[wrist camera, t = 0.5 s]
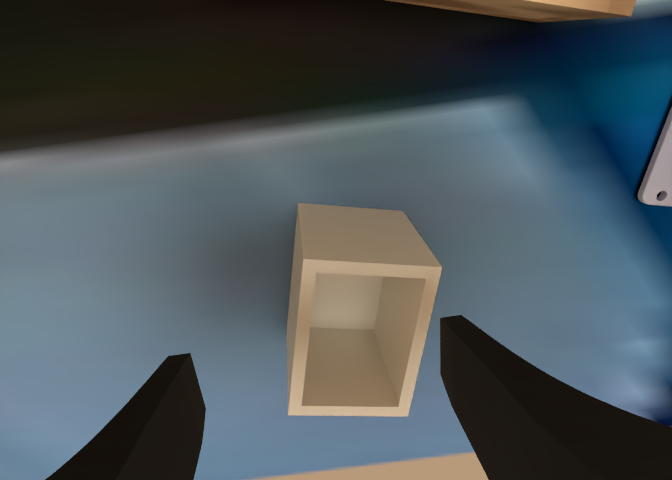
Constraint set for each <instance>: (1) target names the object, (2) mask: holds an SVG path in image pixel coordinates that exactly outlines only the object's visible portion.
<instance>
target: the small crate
mask: <svg viewBox="0 0 672 480" xmlns="http://www.w3.org/2000/svg"><path fill="white" fill-rule="evenodd" d="M441 271H442V266H441V265H440V263H439V262H438V260H437V259H436V258H435V256H434V255H433V253H432V252H431V250H430V249H429V248H428V246H427V245H426V243H425V242H424V240H423V239H422V238H421V236H420V235H419V233H418V232H417V230H416V229H415V228H414V226H413V225H412V223H411V222H410V220H409V219H408V218H407V216H406V215H405V213H404V212H403V211H397V210H384V209H370V208H357V207H344V206H331V205H318V204H305V203H298V210H297V221H296V232H295V243H294V255H293V266H292V277H291V289H290V300H289V311H288V322H287V381H288V415H308V416H408V414H409V409H410V405H411V401H412V396H413V392H414V388H415V383H416V379H417V375H418V370H419V366H420V362H421V357H422V353H423V349H424V344H425V340H426V336H427V331H428V327H429V323H430V318H431V314H432V310H433V305H434V301H435V297H436V292H437V288H438V284H439V279H440V275H441Z"/></svg>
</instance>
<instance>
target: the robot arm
mask: <svg viewBox="0 0 672 480" xmlns="http://www.w3.org/2000/svg"><path fill="white" fill-rule="evenodd" d="M659 192H661V194H660V195H659V197H657V195H658V193H659ZM638 199H639V200H640V201H641V202H643V203H645V204H648V205H660V206H672V107H671V109H670V112H669V115H668V117H667V120H666V122H665V125H664V127H663V130H662V133H661V135H660V138H659V140H658V143H657V145H656V148H655V151H654V153H653V156H652V158H651V161H650V163H649V166H648V169H647V171H646V174H645V176H644V179H643V181H642V184H641V187H640V189H639V192H638ZM440 353H441V377H442V380H443V383H444V385H445V388H446V391H447V394H448V397H449V400H450V402H451V405H452V407H453V409H454V411H455V413H456V415H457V417H458V419H459V421H460V423H461V425H462V427H463V429H464V431H465V433H466V435H467V437H468V439H469V441H470V443H471V445H472V447H473V449H474V451H475V453H476V455H477V457H478V459H479V461H480V463H481V465H482V467H483V469H484V471H485V473H486V475H487V477H488V479H489V480H672V427H669V426H666V425H663V424H660V423H657V422H654V421H652V420H649V419H646V418H643V417H640V416H637V415H635V414H632V413H630V412H627V411H624V410H622V409H619V408H617V407H615V406H612V405H610V404H608V403H605V402H603V401H601V400H598V399H596V398H594V397H592V396H589V395H587V394H585V393H583V392H581V391H579V390H577V389H575V388H573V387H571V386H569V385H567V384H565V383H563V382H561V381H559V380H557V379H556V378H554V377H552V376H550V375H548V374H547V373H545V372H543V371H542V370H540V369H538V368H537V367H535V366H533V365H532V364H530V363H529V362H527V361H525V360H524V359H522V358H521V357H519V356H518V355H516V354H515V353H513V352H512V351H510V350H509V349H507V348H506V347H504V346H503V345H501V344H500V343H499V342H497V341H496V340H494V339H493V338H492V337H490V336H489V335H488V334H486V333H485V332H483V331H482V330H481V329H479V328H478V327H477V326H475V325H474V324H473V323H471V322H470V321H469V320H467V319H466V318H464V317H463V316H462V315H458V316H451V317H444V318H440ZM205 411H206V408H205V404H204V401H203V397H202V393H201V390H200V386H199V383H198V379H197V376H196V372H195V368H194V365H193V361H192V358H191V354H190V353H188V354H180V355H173V356H168V357H167V358H166V359H165V361H164V362H163V363H162V364H161V365H160V366H159V367H158V369H157V370H156V371H155V372H154V373H153V374H152V376H151V377H150V378H149V379H148V380H147V381H146V382H145V384H144V385H143V386H142V387H141V388H140V389H139V390H138V392H137V393H136V394H135V395H134V396H133V397H132V398H131V399H130V401H129V402H128V403H127V404H126V405H125V406H124V407H123V408H122V409H121V410H120V411H119V412H118V413H117V414H116V415H115V417H114V418H113V419H112V420H111V421H110V422H109V423H108V424H107V425H106V426H105V427H104V428H103V429H102V430H101V431H100V432H99V433H98V434H97V435H96V436H95V437H94V438H93V439H92V440H91V441H90V442H89V443H88V444H87V445H85V446H84V447H83V448H82V449H81V450H80V451H79V452H78V453H77V454H75V455H74V456H73V457H72V458H71V459H70V460H69V461H67V462H66V463H65V464H64V465H63V466H62V467H61V468H59V469H58V470H57V471H56V472H55V473H53V474H52V475H51V476H49V477H48V478H47V479H46V480H193V479H194V475H195V471H196V467H197V462H198V458H199V454H200V450H201V445H202V439H203V431H204V421H205Z"/></svg>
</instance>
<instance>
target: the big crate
mask: <svg viewBox="0 0 672 480" xmlns="http://www.w3.org/2000/svg"><path fill="white" fill-rule="evenodd" d="M386 1H393V2H400V3H407V4H414V5H421V6H428V7H435V8H442V9H449V10H456V11H463V12H470V13H477V14H484V15H491V16H498V17H505V18H512V19H519V20H526V21H533V22H553V21H568V20H583V19H598V18H612V17H627V16H631V14H632V11H633V8H634V5H635V2H636V0H386Z"/></svg>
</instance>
